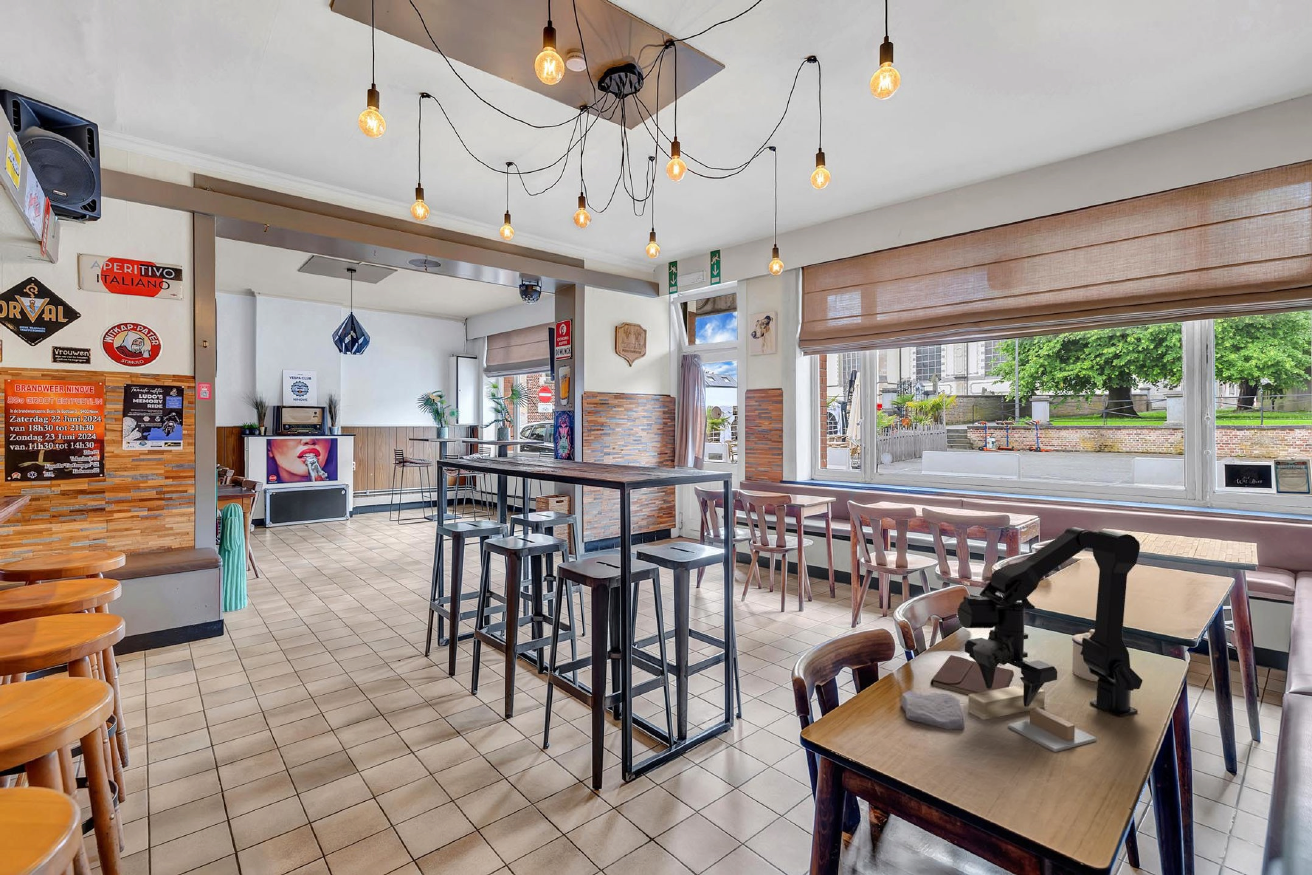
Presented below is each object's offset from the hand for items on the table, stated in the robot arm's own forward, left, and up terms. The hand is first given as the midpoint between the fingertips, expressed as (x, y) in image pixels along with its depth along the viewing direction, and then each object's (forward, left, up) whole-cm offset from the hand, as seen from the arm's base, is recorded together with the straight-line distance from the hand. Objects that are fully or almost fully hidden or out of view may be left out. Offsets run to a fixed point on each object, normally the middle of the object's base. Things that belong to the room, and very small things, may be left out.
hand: (1007, 696), depth 134 cm
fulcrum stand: (+1, +11, -3) cm, 11 cm away
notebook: (-6, -14, -3) cm, 16 cm away
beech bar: (0, 0, -3) cm, 3 cm away
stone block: (+19, -3, -3) cm, 19 cm away
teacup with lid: (-38, -6, -3) cm, 38 cm away
